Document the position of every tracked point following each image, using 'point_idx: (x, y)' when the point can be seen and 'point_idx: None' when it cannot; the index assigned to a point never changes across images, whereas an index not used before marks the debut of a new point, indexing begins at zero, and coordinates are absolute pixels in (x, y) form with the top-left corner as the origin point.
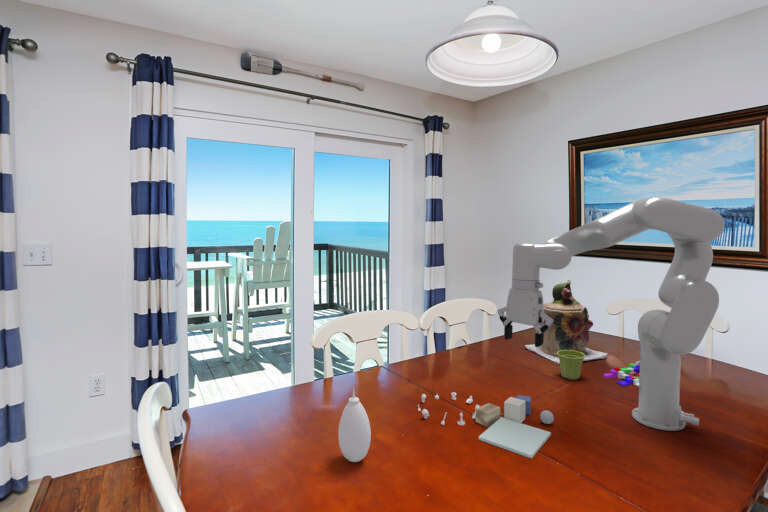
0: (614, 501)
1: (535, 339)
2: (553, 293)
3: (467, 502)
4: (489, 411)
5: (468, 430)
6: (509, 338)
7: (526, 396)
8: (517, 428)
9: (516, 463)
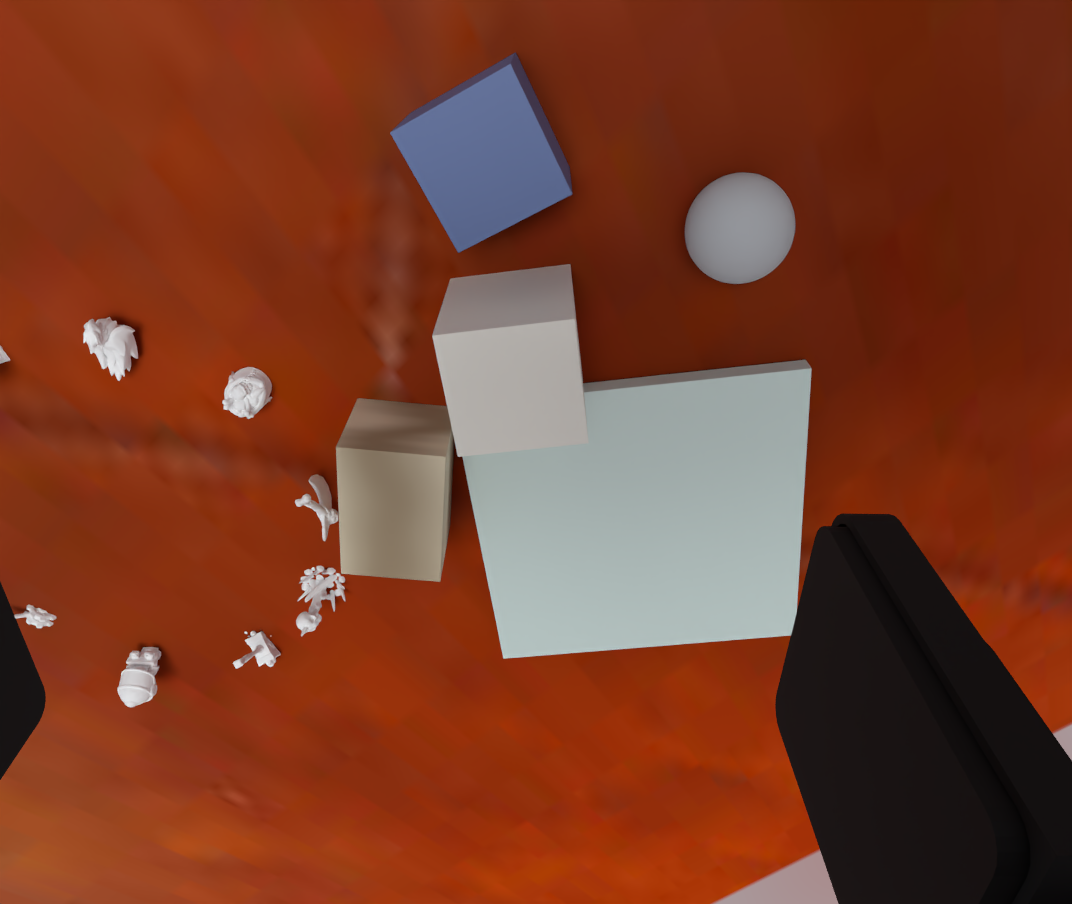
0: None
1: (845, 875)
2: None
3: (703, 898)
4: (431, 549)
5: (405, 612)
6: (12, 623)
7: (475, 94)
8: (617, 465)
9: (746, 685)
